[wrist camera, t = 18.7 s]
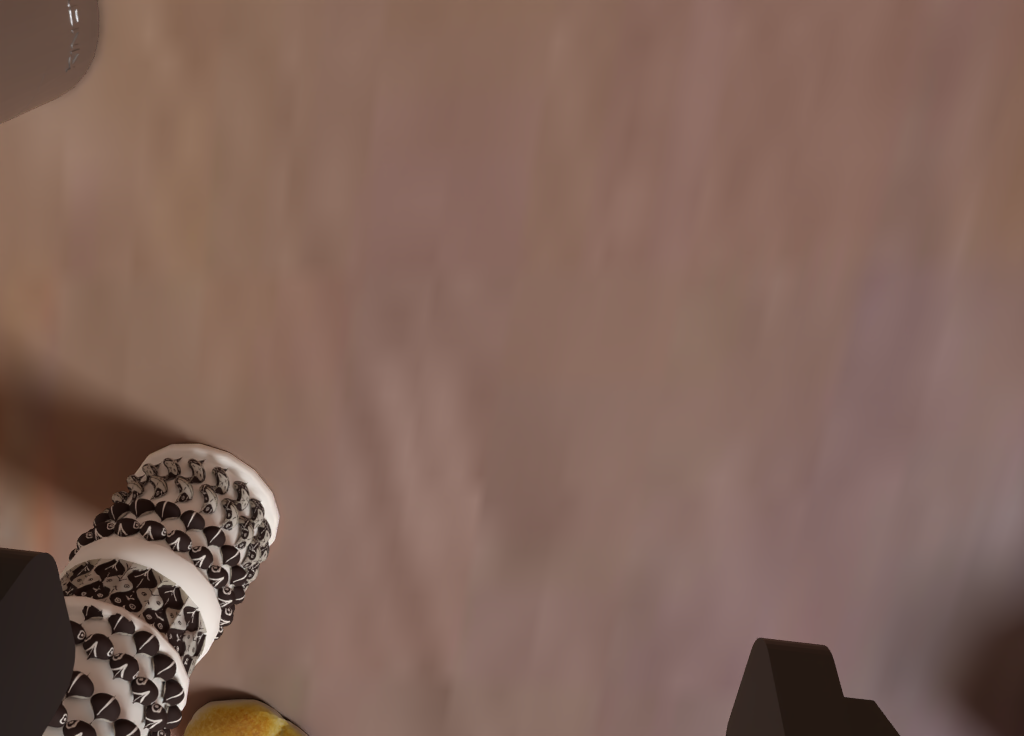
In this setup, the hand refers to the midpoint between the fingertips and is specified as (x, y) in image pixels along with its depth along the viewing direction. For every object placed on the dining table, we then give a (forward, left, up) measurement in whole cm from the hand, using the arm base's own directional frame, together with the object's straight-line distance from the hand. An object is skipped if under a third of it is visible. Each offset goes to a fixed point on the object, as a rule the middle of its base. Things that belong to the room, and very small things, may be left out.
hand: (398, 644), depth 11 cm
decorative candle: (-17, -27, -32) cm, 45 cm away
